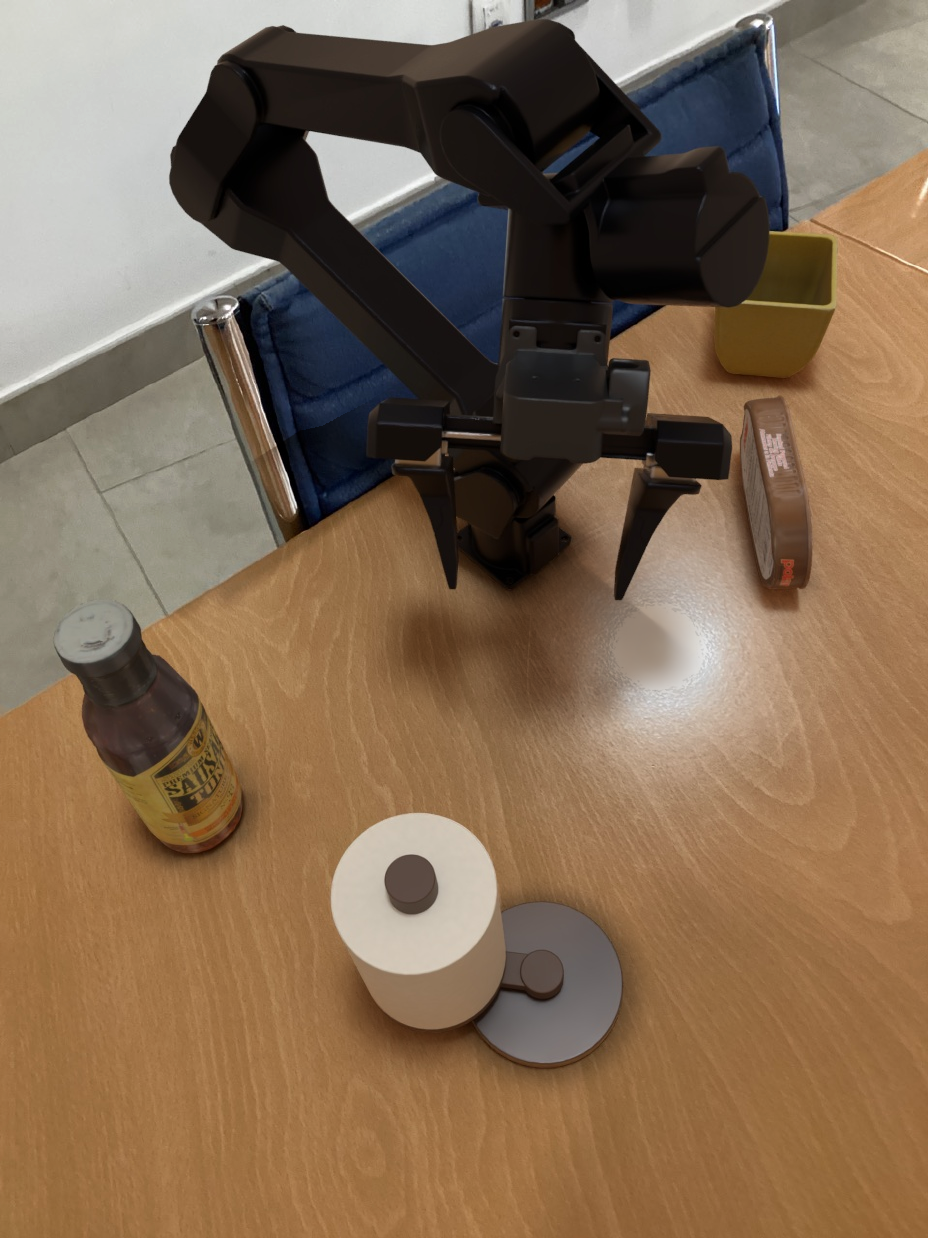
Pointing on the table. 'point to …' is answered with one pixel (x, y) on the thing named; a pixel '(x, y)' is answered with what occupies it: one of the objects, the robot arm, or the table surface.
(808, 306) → the flower pot
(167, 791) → the sauce bottle
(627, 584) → the robot arm
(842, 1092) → the table surface
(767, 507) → the tin
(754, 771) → the table surface
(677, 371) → the table surface
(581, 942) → the swivel base
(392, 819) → the paper towel roll
